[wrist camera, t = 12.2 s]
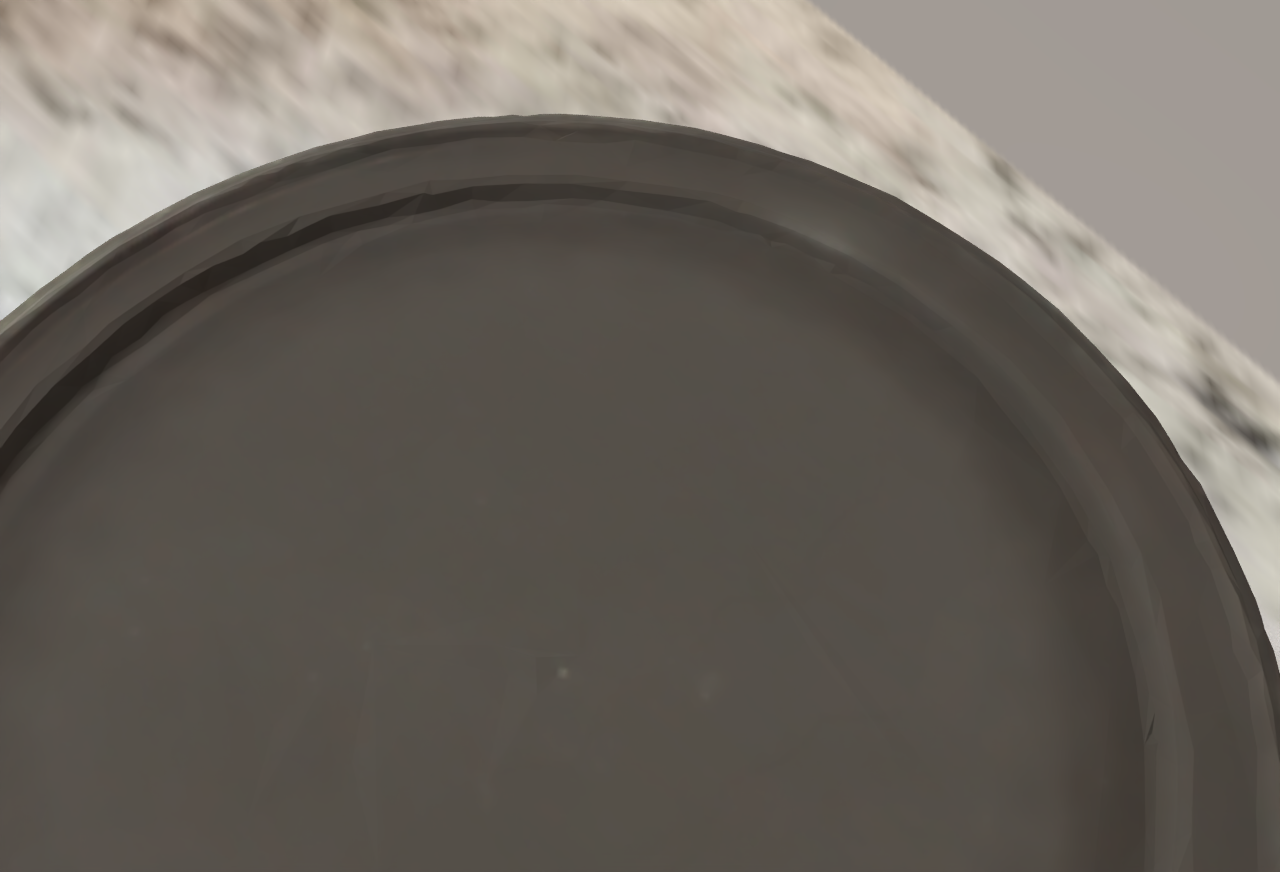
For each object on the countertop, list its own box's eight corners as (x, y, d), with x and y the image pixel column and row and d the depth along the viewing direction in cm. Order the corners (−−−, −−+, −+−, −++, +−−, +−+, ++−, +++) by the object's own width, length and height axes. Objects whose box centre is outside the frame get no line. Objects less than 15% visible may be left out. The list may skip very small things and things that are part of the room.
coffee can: (791, 620, 23) (999, 43, 11) (962, 1249, 18) (1674, 1418, 6) (248, 712, 22) (-168, 173, 10) (266, 1415, 17) (-542, 2039, 5)
